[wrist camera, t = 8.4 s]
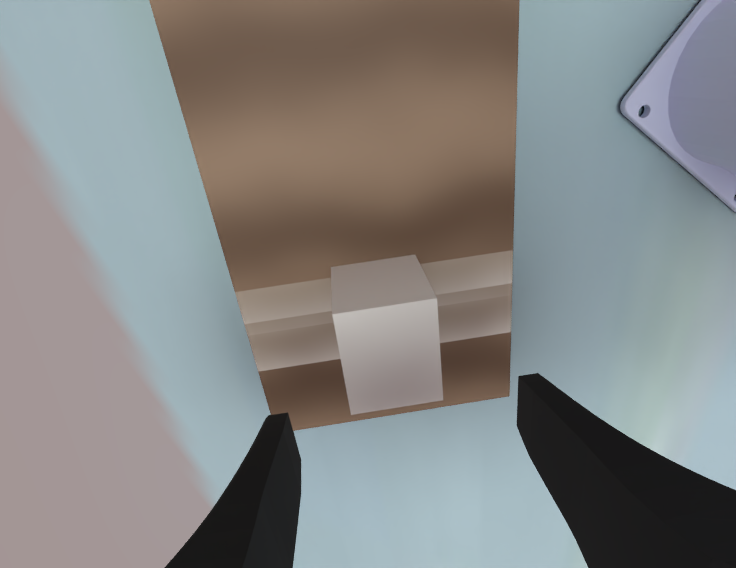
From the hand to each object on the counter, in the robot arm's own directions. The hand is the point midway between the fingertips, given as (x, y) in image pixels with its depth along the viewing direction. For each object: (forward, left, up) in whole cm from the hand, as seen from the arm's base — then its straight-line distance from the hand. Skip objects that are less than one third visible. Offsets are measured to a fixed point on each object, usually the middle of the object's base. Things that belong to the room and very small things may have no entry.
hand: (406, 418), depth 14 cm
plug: (0, 0, -9) cm, 9 cm away
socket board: (+4, -5, -9) cm, 11 cm away
